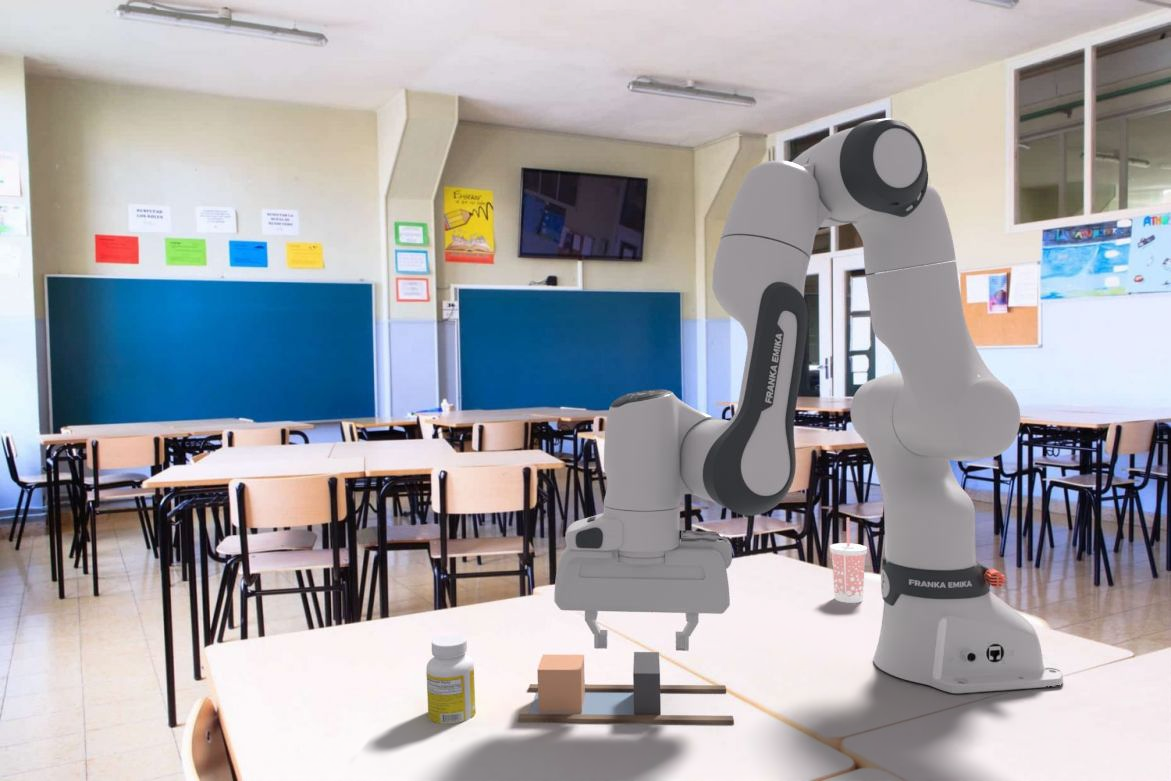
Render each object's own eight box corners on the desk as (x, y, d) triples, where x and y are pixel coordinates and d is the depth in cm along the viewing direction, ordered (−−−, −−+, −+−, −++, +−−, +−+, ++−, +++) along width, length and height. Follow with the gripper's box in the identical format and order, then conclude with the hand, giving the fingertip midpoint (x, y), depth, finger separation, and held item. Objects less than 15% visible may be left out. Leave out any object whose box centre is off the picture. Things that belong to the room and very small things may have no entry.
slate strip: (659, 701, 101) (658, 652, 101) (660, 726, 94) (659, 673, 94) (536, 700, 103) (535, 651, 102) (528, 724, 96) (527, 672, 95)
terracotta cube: (584, 695, 101) (584, 654, 101) (581, 713, 96) (580, 669, 96) (543, 695, 101) (542, 654, 101) (538, 712, 96) (537, 669, 96)
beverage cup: (871, 597, 144) (870, 516, 144) (862, 606, 139) (861, 522, 139) (835, 592, 148) (835, 513, 147) (825, 601, 143) (824, 519, 142)
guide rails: (725, 698, 102) (725, 685, 102) (734, 734, 92) (733, 720, 92) (530, 696, 104) (530, 684, 104) (518, 732, 94) (517, 718, 94)
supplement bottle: (453, 710, 101) (451, 629, 100) (485, 722, 97) (483, 638, 97) (418, 726, 96) (415, 641, 96) (449, 738, 93) (447, 651, 93)
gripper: (729, 526, 100) (728, 641, 100) (558, 523, 101) (558, 637, 102) (735, 536, 93) (734, 659, 94) (552, 534, 95) (552, 655, 95)
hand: (641, 648), depth 98 cm, fingers open, 8 cm apart
